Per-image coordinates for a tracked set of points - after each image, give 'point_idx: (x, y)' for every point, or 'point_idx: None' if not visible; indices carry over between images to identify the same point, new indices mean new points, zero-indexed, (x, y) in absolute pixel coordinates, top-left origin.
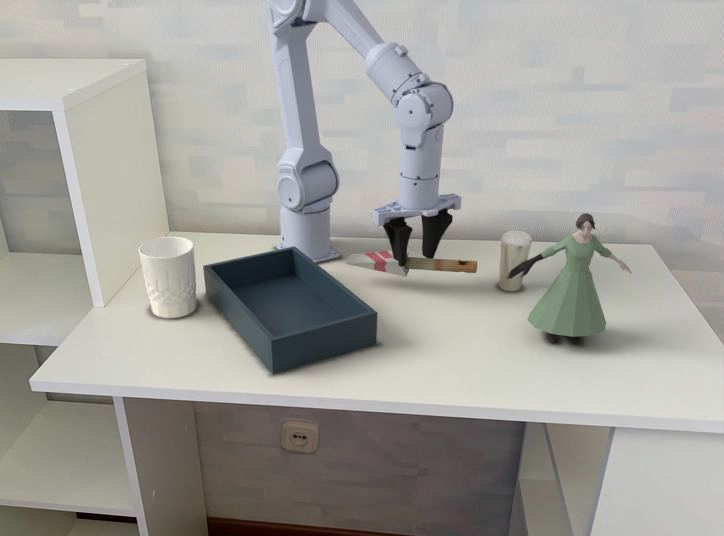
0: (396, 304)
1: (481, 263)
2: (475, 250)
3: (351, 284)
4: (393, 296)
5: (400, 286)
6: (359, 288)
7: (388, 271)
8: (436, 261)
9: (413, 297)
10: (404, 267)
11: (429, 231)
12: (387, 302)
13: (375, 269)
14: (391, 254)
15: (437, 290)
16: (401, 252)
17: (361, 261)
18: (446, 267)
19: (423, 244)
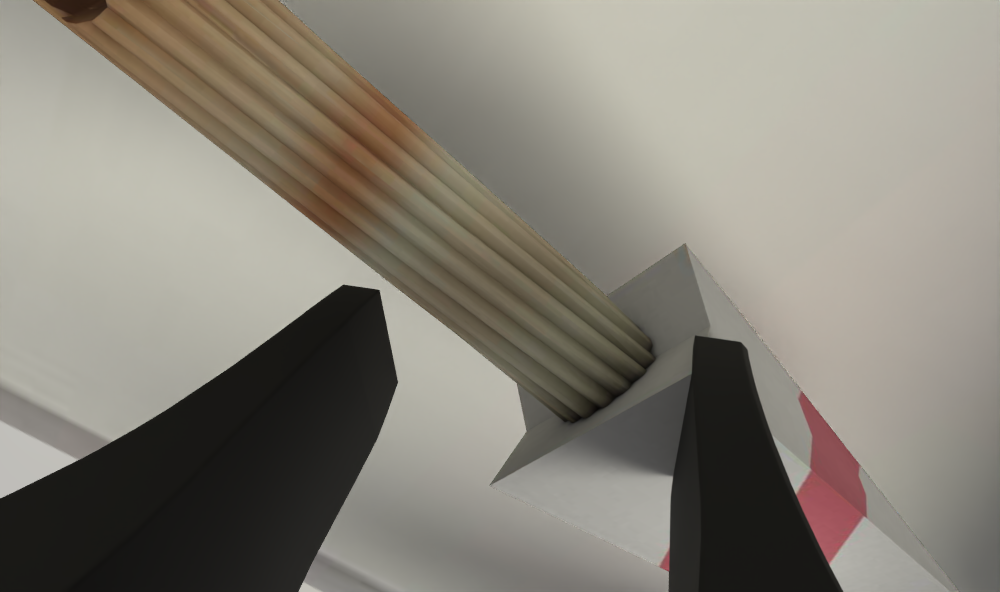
0: (891, 54)
1: (20, 214)
2: (29, 329)
3: (893, 447)
4: (790, 181)
5: (627, 265)
6: (899, 391)
7: (785, 381)
8: (362, 185)
9: (661, 82)
10: (659, 336)
11: (232, 582)
12: (925, 127)
13: (850, 458)
14: None
15: (418, 77)
16: (793, 489)
17: (902, 580)
18: (296, 38)
19: (350, 467)
